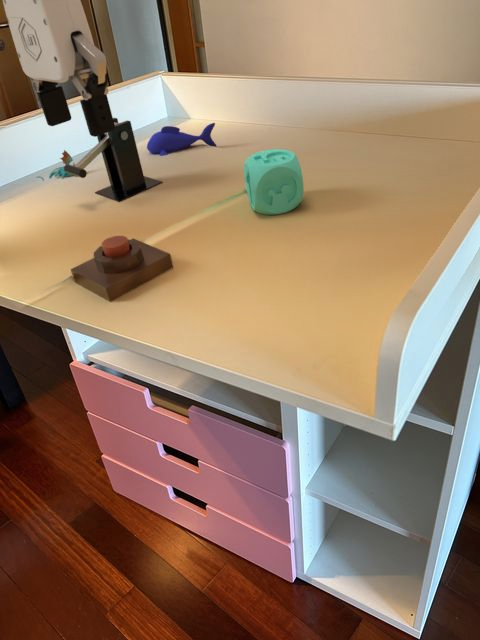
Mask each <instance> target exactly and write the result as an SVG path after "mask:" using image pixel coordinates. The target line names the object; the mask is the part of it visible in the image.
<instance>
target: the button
mask: <svg viewBox="0 0 480 640" xmlns="http://www.w3.org/2000/svg"><path fill="white" fill-rule="evenodd" d="M128 240H129V239H128V237H126V236H125V235H113V236H110V237H108V238H105V239H104V240H103V241H102V242H101V246H102V248H103V251H104V254H105V256H106V257H107V258H116V257H120V256H123V255H125V254H127V253H129V252H130V246H129V242H128Z"/></svg>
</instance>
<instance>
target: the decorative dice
mask: <svg viewBox="0 0 480 640" xmlns="http://www.w3.org/2000/svg"><path fill="white" fill-rule="evenodd" d="M301 167H302V166H301V164H300V160H299V159H298V157H297V155H296V153H294V152H293V151H291V150H288V149H283V148H274V149H266V150H261V151H257V152H254V153H252V154H251V155H249V156H248V158H247V159H246V160H245V162H244V163H243V174H244V175H243V176H244V183H245V188H246V193H247V197H248V202H249V204H250V206H251V209H252V210H253V211H254V212H256V213H258V214H261V215H268V216H273V215H274V216H275V215H282V214H286V213H289V212H291V211H293V210H295V209H296V208H297V207H298V206H299V205H300V203H301V202H302V201H303V198H304V193H305V191H304V190H305V189H304V188H305V187H304V178H303V172H302V168H301Z"/></svg>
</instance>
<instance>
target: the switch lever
mask: <svg viewBox="0 0 480 640" xmlns="http://www.w3.org/2000/svg"><path fill="white" fill-rule="evenodd" d="M118 123H119V122H118ZM118 123H116V122H114V125H116V124H118ZM104 135H105V137H104V138H103V139H102V140H101V141H100V142H98V143H97V144H96V145H95V146H94V147H93V148H92V149H90V150H89V151H88V153H86V154H85V156H83V157H82V158H81V159H80V160H79V161H78V162H77V163H75V166H72V165H73V164H70V163H69V164H67V165H66V164H64V166H65V167H64V170H65V172H66V173H69V174H72V175H75V176H74V177H76V176H78V177H77V178H81V179H84V178H86V177H87V174H88V173H87V171H86V169H85V168H86V167H87V166H89V165H90V164H91V163H92V161H94V160H95V159H96V158H97V157H98V156H99V155H100V154H102V151H103V150H104V149H105V148H106V147H107V146H108V145H109V144H110V139H109V135H108V132H107V133H104Z"/></svg>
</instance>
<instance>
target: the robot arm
mask: <svg viewBox="0 0 480 640" xmlns="http://www.w3.org/2000/svg"><path fill="white" fill-rule="evenodd" d="M2 4H3V8H4V12H5V16H6V19H7V24H8V27H9V29H10V33H11V36H12V41H13V43H14V48H15V51H16V54H17V57H18V59H19V63H20V66H21V69H22V71H23V73H24V74H25V75H26V76H27V77H29V78H30V79H31V81H32V87H33V89H34V91H35V92H36V95H37V97H38V101H39V103H40V106H41V109H42V112H43V116H44V118H45V121H46V124H47V125H48V126H49V127H55V126H59V125H61V124H64V123H67V122H70V121H71V120H72V114H71V111H70V108H69V104H68V101H67V98H66V95H65V92H64V91H65V90H64V89H63V86H62V85H59V84H63V83H66V82H68V81H69V79H70V81H71V82H72V84H73V85H74V87H75V88H76V90H77V91H78V93H79V94H80V96H81V97H82V99H80V100H79V102H80V105H81V109H82V112H83V116H84V119H85V123H86V126H87V130H88V133H89V135H90V136H91V137H96V138H97V136H99V135H102V134H104V133H107V132H110V131H112V130H114V129H115V125H114V121H113V118H114V117H113V113H112V110H111V106H110V102H109V99H108V95H107V94H109V88H108V81H109V76H108V74H107V57H106V55H105V53H104V52H103V51H101V50H100V49H99V48H98V47H97V46H96V45H95V43H94V39H93V36H92V35H93V34H92V32H91V29H90V25H89V22H88V19H87V16H86V13H85V9H84V6H83V4H82V1H81V0H2ZM85 79H87V81H86V83H85V81H84V80H85Z"/></svg>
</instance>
